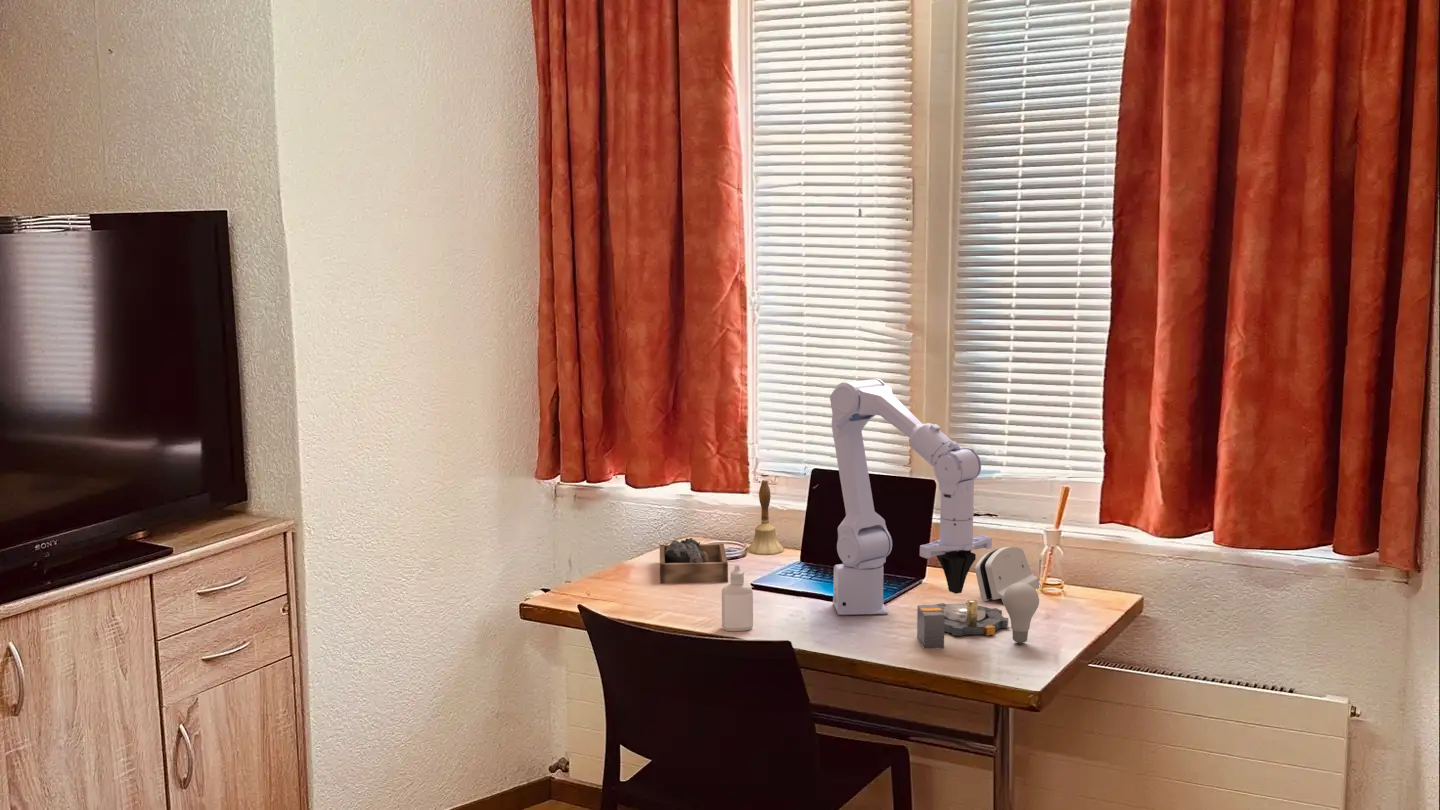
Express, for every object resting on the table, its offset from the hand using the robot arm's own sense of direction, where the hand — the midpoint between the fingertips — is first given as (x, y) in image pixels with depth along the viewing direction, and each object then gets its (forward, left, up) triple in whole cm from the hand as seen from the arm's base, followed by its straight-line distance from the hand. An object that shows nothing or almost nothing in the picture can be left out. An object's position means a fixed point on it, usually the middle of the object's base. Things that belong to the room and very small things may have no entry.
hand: (955, 591), depth 223 cm
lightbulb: (+11, -4, -9) cm, 14 cm away
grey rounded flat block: (+17, +26, -9) cm, 32 cm away
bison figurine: (-45, +45, -8) cm, 64 cm away
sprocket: (+4, +7, -8) cm, 12 cm away
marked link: (-5, -3, -8) cm, 10 cm away
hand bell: (-28, +62, -9) cm, 69 cm away
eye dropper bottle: (-38, +7, -9) cm, 40 cm away
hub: (+4, +7, -8) cm, 12 cm away
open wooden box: (-45, +45, -8) cm, 65 cm away
